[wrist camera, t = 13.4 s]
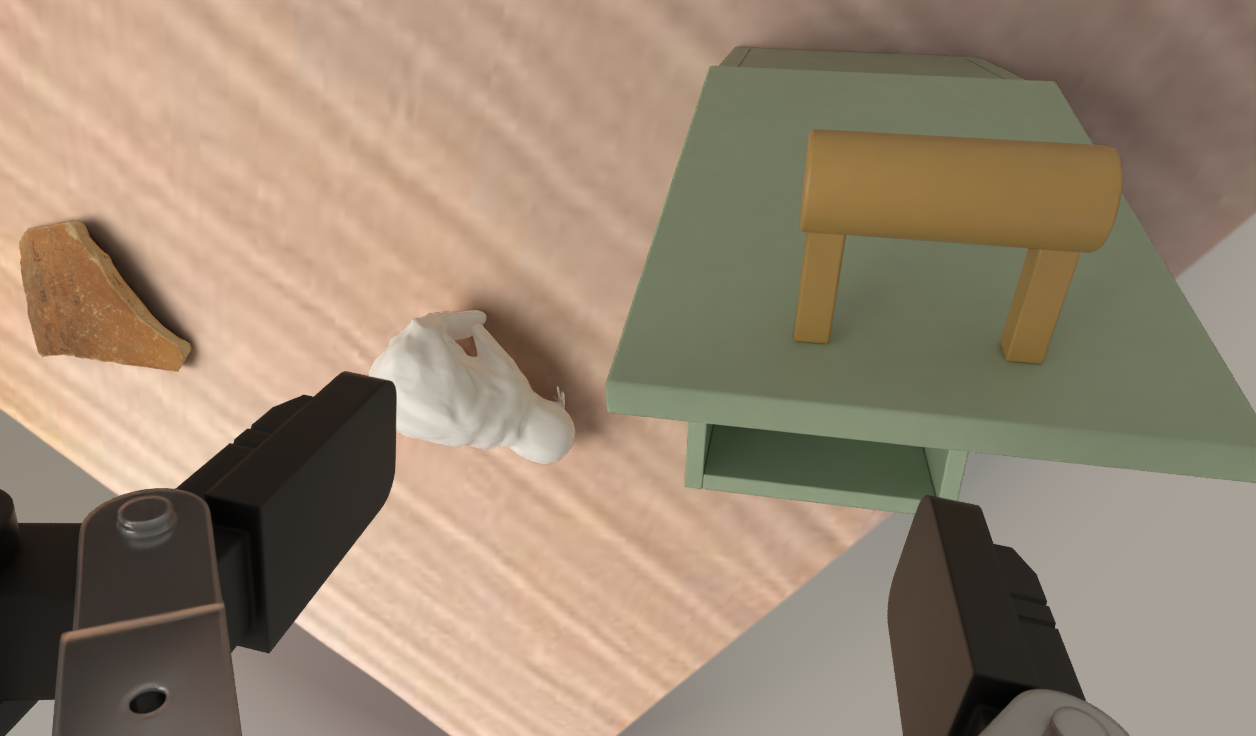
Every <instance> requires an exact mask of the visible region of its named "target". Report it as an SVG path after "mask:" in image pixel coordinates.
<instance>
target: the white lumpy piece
mask: <svg viewBox="0 0 1256 736" xmlns="http://www.w3.org/2000/svg"><path fill="white" fill-rule="evenodd" d="M486 318H487V317H486V314H485V313H484V312H482V311H478V310H471V311H461V312H450V311H443V312H436V313H429V314H427V315H426V316H424V317H420V318H414V319H413V320H412V321H411V322H410V324H409V325H408V326H407V327H406V328H405V329H403V330H402V331H401V332H400V333H398V334H396V335H395V336H394V337H393V338H392V339H391V340H390V342H389V345H388V346H387V348H386V349H385V350H384V351H383V353H381V354H380V355H379V356H378V357H377V358H376V360H375V361H374V363H373V365H372V368H371V370H370V372H369V375H368V376H371V377H376V378H380V379H385V380H390V381H392V382H393V383H394V385H395V387H396V393H397V412H396V430H397V431H398V432H399V433H400V434H402V435H403V436H406V437H410V438H417V439H421V440H426V441H430V442H433V443H436V444H440V445H449V446H452V447H462V446H472V447H477V448H480V449H489V448H493V447H499V446H504V447H510V448H511V449H512V450H513V451H514V452H515V453H517V454H518V455H519V456H521V457H523V458H525V459H527V460H529V461H532V462H535V463H540V464H550V463H554V462H557V461H559V460H560V459H562V458H563V457H564V456H565V455H566V454H567V453H568V452H569V450H570V448H571V447H572V444H573V441H574V436H575V429H574V424H573V421H572V419H571V417H570V415H569V414H568V413H567V412H566V411H565V410H564V407H565V397H564V393H563V394H562V393H561V396H560V392H559V387H558V386H557V392H558V398H557V399H558V401H557V399H555V398H556V397H555V398H554V399H555V400H556V401H557V402H555V401H554V402H552V401H550V400H546V399H544V398H542V397H540V396H539V395H538V394H536V393H535V392H534V391H532V389H531V387H530V384H529V382H528V380H527V378H526V377H525V376H524V375H523V374H522V373H521V371H520V370H519V368H518V366H517V364H516V363H515V361H514V360H513V359H512V358H511V357H510V356H509V355H508V354H507V353H506V352H505V351H504V349H503V348H502V347H501V346H500V345H499V344H498V342H497V341H496V340H495V339H494V338H493V337H492V336H491V335H490V334H489V332H488V331H487V330H486V329H485V328H484V327H483V325H484V324H485V322H486ZM472 335H473V338H474V341H475V345H476V349H477V353H478V355H477V356H476V357H473V356H468V355H467V354H466V353H465V352H464V350H463V348H462V347H461V346H460V345H458V344H457V343H456V342H455V339H466V338H469V337H471V336H472ZM561 390H562V389H561ZM552 392H553V391H552ZM553 397H554V396H553Z"/></svg>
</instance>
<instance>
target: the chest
mask: <svg viewBox="0 0 1256 736" xmlns="http://www.w3.org/2000/svg"><path fill="white" fill-rule="evenodd" d="M719 66H726V67H748V68H770V69H792V70H814V71H836V72H858V73H880V74H902V75H924V76H946V77H968V78H989V79H1011V80H1024V79H1022V78H1020V77H1018V76H1016V75H1014V74H1012V73H1010V72H1008V71H1006V70H1004V69H1002V68H1000V67H998V66H996V65H994V64H991V63H989V62H987V61H985V60H983V59H981V58H979V57H963V56H939V55H916V54H892V53H868V52H844V51H820V50H797V49H773V48H749V47H735V48H734V49H733V50H732V51H731V52H730V53H729V55H728V56H727V57H726V58H725V59H724V60H723V62H722V63H721V64H720V65H719ZM968 453H969V452H965V451H956V450H947V449H938V448H928V447H919V446H910V445H901V444H892V443H882V442H873V441H864V440H855V439H845V438H836V437H827V436H818V435H809V434H799V433H790V432H781V431H772V430H762V429H753V428H744V427H735V426H726V425H716V424H707V423H698V422H688V438H687V454H686V470H685V487H688V488H696V489H702V487H703V489H706V490H715V491H723V492H731V493H740V494H748V495H756V496H765V497H773V498H781V499H790V500H798V501H806V502H815V503H823V504H831V505H840V506H848V507H856V508H865V509H873V510H881V511H890V512H898V513H906V514H915V513H916V510H917V508H918V505H919V503H920V501H921V499H922V498H923V497H924V496H925V495H931V496H936V497H941V498H945V499H950V500H955V501H958V498H959V493H960V489H961V484H962V480H963V475H964V471H965V466H966V462H967V457H968Z"/></svg>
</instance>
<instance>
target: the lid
mask: <svg viewBox="0 0 1256 736" xmlns="http://www.w3.org/2000/svg"><path fill="white" fill-rule="evenodd" d="M1122 179H1123V176H1122V163H1121V159H1120V156H1119V153H1118V151H1117V150H1116V149H1115V148H1113V147H1111V146H1108V145H1093V143H1092V142H1091V140H1090V138H1089V137H1088V135H1087V133H1086V132H1085V130H1084V129H1083V127H1082V125H1081V124H1080V122H1079V120H1078V119H1077V117H1076V115H1075V114H1074V112H1073V110H1072V109H1071V107H1070V105H1069V104H1068V102H1067V100H1066V99H1065V97H1064V95H1063V94H1062V92H1061V90H1060V89H1059V87H1058V85H1057V84H1056V82H1054V81H1033V80H1011V79H989V78H968V77H946V76H924V75H902V74H880V73H858V72H836V71H814V70H792V69H770V68H748V67H726V66H710V67H709V70H708V73H707V76H706V79H705V82H704V85H703V88H702V91H701V94H700V97H699V100H698V103H697V106H696V109H695V112H694V115H693V119H692V122H691V125H690V128H689V131H688V134H687V137H686V140H685V143H684V146H683V149H682V152H681V155H680V158H679V161H678V164H677V167H676V170H675V173H674V176H673V180H672V183H671V186H670V189H669V192H668V195H667V198H666V201H665V204H664V207H663V210H662V213H661V216H660V219H659V222H658V225H657V228H656V231H655V234H654V237H653V240H652V244H651V247H650V250H649V253H648V256H647V259H646V262H645V265H644V268H643V271H642V274H641V277H640V280H639V283H638V286H637V289H636V292H635V295H634V298H633V301H632V304H631V308H630V311H629V314H628V317H627V320H626V323H625V326H624V329H623V332H622V335H621V338H620V341H619V344H618V347H617V350H616V353H615V356H614V359H613V362H612V365H611V368H610V372H609V375H608V378H607V381H606V402H607V410H608V412H610V413H615V414H624V415H633V416H643V417H652V418H661V419H670V420H680V421H689V422H698V423H707V424H716V425H726V426H735V427H744V428H753V429H762V430H772V431H781V432H790V433H799V434H809V435H818V436H827V437H836V438H845V439H855V440H864V441H873V442H882V443H892V444H901V445H910V446H919V447H928V448H938V449H947V450H956V451H965V452H975V453H984V454H994V455H1002V456H1011V457H1021V458H1031V459H1039V460H1040V459H1041V460H1049V461H1058V462H1067V463H1077V464H1086V465H1094V466H1104V467H1113V468H1122V469H1132V470H1140V471H1150V472H1159V473H1169V474H1178V475H1187V476H1196V477H1205V478H1215V479H1224V480H1233V481H1242V482H1251V483H1256V413H1255V412H1254V410H1253V409H1252V407H1251V405H1250V403H1249V402H1248V400H1247V399H1246V397H1245V395H1244V394H1243V392H1242V390H1241V389H1240V387H1239V385H1238V384H1237V382H1236V380H1235V379H1234V377H1233V375H1232V374H1231V372H1230V370H1229V369H1228V367H1227V365H1226V364H1225V362H1224V360H1223V359H1222V357H1221V356H1220V354H1219V352H1218V350H1217V349H1216V347H1215V345H1214V344H1213V342H1212V341H1211V339H1210V337H1209V336H1208V334H1207V332H1206V331H1205V329H1204V327H1203V326H1202V324H1201V322H1200V321H1199V319H1198V317H1197V316H1196V314H1195V313H1194V311H1193V309H1192V307H1191V306H1190V304H1189V302H1188V301H1187V299H1186V298H1185V296H1184V294H1183V293H1182V291H1181V289H1180V288H1179V286H1178V284H1177V283H1176V281H1175V279H1174V278H1173V276H1172V274H1171V273H1170V271H1169V269H1168V268H1167V266H1166V264H1165V263H1164V261H1163V259H1162V258H1161V256H1160V254H1159V253H1158V251H1157V249H1156V248H1155V246H1154V244H1153V243H1152V241H1151V239H1150V238H1149V236H1148V235H1147V233H1146V231H1145V230H1144V228H1143V226H1142V225H1141V223H1140V221H1139V220H1138V218H1137V216H1136V215H1135V213H1134V211H1133V210H1132V208H1131V206H1130V205H1129V203H1128V201H1127V200H1126V198H1125V196H1124V195H1123V193H1122Z"/></svg>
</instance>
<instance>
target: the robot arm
mask: <svg viewBox="0 0 1256 736" xmlns="http://www.w3.org/2000/svg"><path fill="white" fill-rule="evenodd" d="M396 412H397V393H396V387H395V385H394V383H393V382H392V381H390V380H385V379H380V378H376V377H371V376H366V375H361V374H357V373H352V372H347V371H344V372H342V373H340V374H339V375H338V376H337V377H335V378H334V379H333V380H332V381H331V382H330V383H329V384H328V385H326V386H325V387H324V388H323V389H322V390H321V391H320V392H319V393H317V394H316V395H315V396H314V397H312V396H308V395H302V396H300V397H297V398H295V399H292V400H290V401H287V402H285V403H282V404H280V405H277V406H275V407H273V408H271V409H270V410H269V411H268V412H267V413H265V414H264V415H263V416H262V417H261V418H260V419H258V420H257V421H256V422H255V423H254V424H252V427H251V429H246V430H245V431H244V432H243V433H242V434H240V435H239V436H238V437H237V438H236V439H234V443H233V444H231V443H230V444H228V445H227V446H226V447H225V448H224V449H222V450H221V451H220V452H219V453H218V454H216V455H215V456H214V457H213V458H212V459H210V460H209V461H208V462H207V463H206V464H205V465H203V466H202V467H201V468H200V469H199V470H197V471H196V472H195V473H194V474H193V475H191V476H190V477H189V478H188V479H187V480H185V481H184V482H183V483H182V484H181V485H179V486H178V487H177V488H176V489H169V488H155V489H145V490H140V491H134V492H131V493H127V494H123V495H121V496H118V497H116V498H113V499H111V500H109V501H107V502H105V503H103V504H101V505H100V506H98V507H97V508H95V509H94V510H93V511H92V512H90V513H89V514H88V516H87V517H86V518H85V519H84V521H83V522H82V523H18V522H17V518H16V513H15V508H14V504H13V500H12V498H11V497H10V496H9V494H7V493H6V492H5V491H3V490H1V489H0V736H5V735H6V734H7V733H8V732H9V731H10V730H11V729H12V728H13V727H14V726H15V725H16V724H17V723H18V722H19V721H20V720H21V718H22V717H23V716H24V715H25V714H26V713H27V712H28V711H29V710H30V709H31V708H32V707H33V706H34V705H35V704H36V703H37V701H38V700H55V704H54V716H53V728H52V729H53V730H52V736H242V731H241V723H240V716H239V709H238V702H237V694H236V687H235V679H234V672H233V665H232V658H231V652H232V651H233V650H234V649H235V648H236V646H241V647H245V648H250V649H253V650H257V651H261V652H266V653H270V652H271V651H272V649H273V648H274V647H275V646H276V644H277V643H278V642H279V640H280V639H281V638H282V636H283V635H284V634H285V633H286V631H287V630H288V629H289V627H290V626H291V625H292V623H293V622H294V621H295V620H296V618H297V617H298V616H299V614H300V613H301V612H302V611H303V609H304V608H305V607H306V605H307V604H308V603H309V601H310V600H311V599H312V598H313V596H314V595H315V594H316V592H317V591H318V590H319V589H320V587H321V586H322V585H323V583H324V582H325V581H326V579H327V578H328V577H329V576H330V574H331V573H332V572H333V570H334V569H335V568H336V566H337V565H338V564H339V563H340V561H341V560H342V559H343V557H344V556H345V555H346V554H347V552H348V551H349V550H350V548H351V547H352V546H353V544H354V543H355V542H356V541H357V539H358V538H359V537H360V535H361V534H362V533H363V532H364V530H365V529H366V528H367V526H368V525H369V524H370V522H371V521H372V520H373V519H374V517H375V516H376V515H377V513H378V512H379V511H380V509H381V508H382V507H383V505H384V504H385V502H386V500H387V498H388V496H389V493H390V490H391V487H392V484H393V480H394V474H395V461H396ZM1046 603H1047V600H1046V597H1045V595H1044V592H1043V590H1042V587H1041V585H1040V582H1039V580H1038V577H1037V574H1036V573H1035V572H1034V571H1033V570H1032V569H1031V568H1030V567H1029V566H1028V565H1027V564H1026V562H1025V561H1024V560H1023V559H1022V558H1021V557H1020V556H1019V555H1018V554H1017V552H1016V551H1015V550H1014V549H1013V548H1011V547H1006V546H1001V545H996V544H993V541H992V538H991V535H990V532H989V529H988V526H987V524H986V521H985V518H984V515H983V512H982V509H981V508H980V507H979V506H978V505H974V504H969V503H964V502H959V501H955V500H950V499H945V498H941V497H936V496H931V495H925V496H924V497H923V498H922V499H921V501H920V503H919V505H918V508H917V510H916V513H915V516H914V519H913V522H912V525H911V528H910V531H909V533H908V536H907V539H906V543H905V545H904V548H903V551H902V554H901V557H900V560H899V563H898V565H897V568H896V571H895V574H894V577H893V580H892V585H891V589H890V594H889V602H888V627H889V635H890V642H891V650H892V657H893V664H894V672H895V679H896V686H897V693H898V702H899V709H900V716H901V724H902V731H903V736H1130V735H1129V734H1128V733H1127V732H1126V731H1125V730H1124V729H1123V728H1122V727H1121V726H1120V725H1119V724H1118V723H1117V722H1116V721H1115V720H1113V719H1112V718H1111V717H1110V716H1108V715H1107V714H1106V713H1104V712H1103V711H1101V710H1100V709H1098V708H1097V707H1095V706H1093V705H1092V704H1090V703H1088V702H1086V700H1085V697H1084V694H1083V692H1082V689H1081V687H1080V684H1079V682H1078V679H1077V677H1076V674H1075V672H1074V669H1073V666H1072V664H1071V661H1070V659H1069V656H1068V654H1067V651H1066V649H1065V646H1064V643H1063V641H1062V638H1061V636H1060V633H1059V631H1058V629H1055V624H1056V623H1055V620H1054V618H1053V616H1052V613H1051V610H1050V608H1049V606H1046Z"/></svg>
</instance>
